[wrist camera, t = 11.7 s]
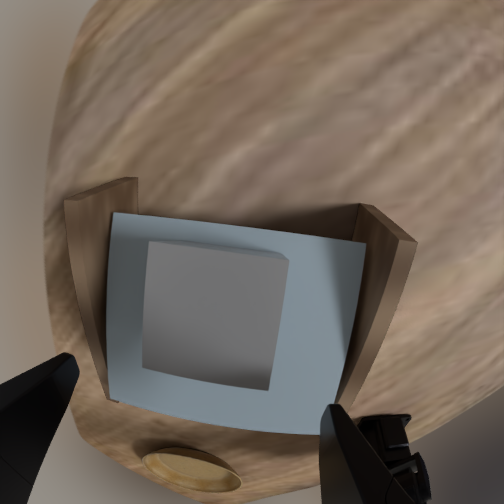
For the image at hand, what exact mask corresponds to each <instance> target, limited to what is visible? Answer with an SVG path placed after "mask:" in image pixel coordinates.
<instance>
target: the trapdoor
mask: <svg viewBox="0 0 504 504" xmlns="http://www.w3.org/2000/svg"><path fill="white" fill-rule="evenodd" d="M184 240H186V241H193V242H201V243H208V244H216V245H224V246H231V247H239V248H246V249H254V250H261V251H269V252H276V253H282V254H283V255H284V256H285V257H286V258H288V259H289V267H288V274H287V281H286V288H285V295H284V301H283V308H282V314H281V320H280V327H279V333H278V339H277V345H276V351H275V357H274V362H273V368H272V374H271V379H270V385H269V390H268V391H264V390H255V389H248V388H240V387H234V386H227V385H221V384H215V383H209V382H204V381H199V380H193V379H188V378H184V377H179V376H174V375H170V374H166V373H161V372H157V371H153V370H149V369H145V368H142V334H143V310H144V293H145V279H146V267H147V257H148V247H149V241H184ZM365 250H366V243H359V242H353V241H346V240H339V239H332V238H325V237H318V236H311V235H303V234H296V233H289V232H281V231H274V230H266V229H258V228H250V227H242V226H234V225H226V224H217V223H209V222H200V221H192V220H183V219H174V218H164V217H155V216H145V215H135V214H125V213H115V212H114V214H113V222H112V230H111V240H110V250H109V263H108V279H107V307H106V338H107V366H108V381H109V393H110V398H111V399H114V400H117V401H120V402H123V403H126V404H129V405H133V406H136V407H139V408H143V409H146V410H150V411H154V412H158V413H161V414H165V415H169V416H174V417H178V418H182V419H187V420H192V421H197V422H202V423H207V424H213V425H219V426H225V427H232V428H239V429H246V430H255V431H264V432H275V433H289V434H311V435H320V421H321V417H322V415H323V413H324V411H325V409H326V407H327V405H328V404H334V401H335V397H336V394H337V390H338V386H339V383H340V379H341V375H342V371H343V367H344V363H345V359H346V355H347V350H348V346H349V342H350V337H351V332H352V328H353V323H354V318H355V313H356V307H357V302H358V296H359V290H360V284H361V278H362V272H363V265H364V258H365Z"/></svg>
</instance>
